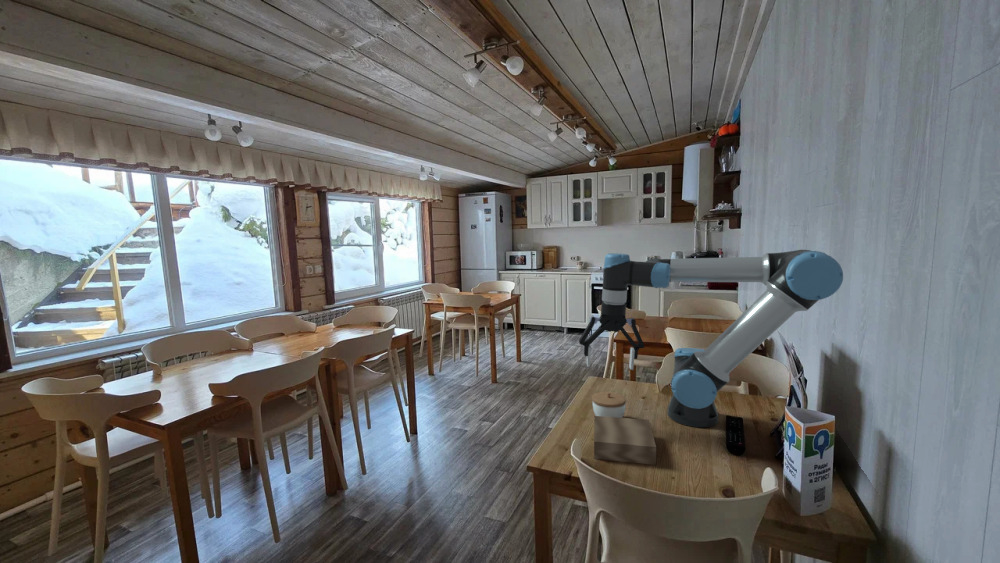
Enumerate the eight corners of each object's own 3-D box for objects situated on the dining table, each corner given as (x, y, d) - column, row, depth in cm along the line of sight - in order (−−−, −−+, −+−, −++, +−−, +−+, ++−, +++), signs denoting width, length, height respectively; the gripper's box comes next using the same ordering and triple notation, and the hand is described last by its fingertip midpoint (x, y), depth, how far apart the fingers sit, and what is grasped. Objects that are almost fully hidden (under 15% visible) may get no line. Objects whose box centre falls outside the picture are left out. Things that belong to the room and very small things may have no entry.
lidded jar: (620, 430, 127) (620, 402, 126) (587, 423, 133) (587, 395, 132) (629, 417, 136) (629, 390, 135) (598, 410, 142) (598, 384, 141)
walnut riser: (648, 435, 124) (648, 419, 123) (655, 464, 108) (656, 447, 108) (594, 430, 127) (594, 415, 127) (594, 458, 112) (594, 441, 111)
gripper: (651, 302, 131) (646, 365, 134) (573, 298, 134) (569, 360, 137) (657, 306, 123) (652, 373, 126) (574, 302, 126) (571, 368, 129)
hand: (609, 367), depth 132 cm, fingers open, 13 cm apart
